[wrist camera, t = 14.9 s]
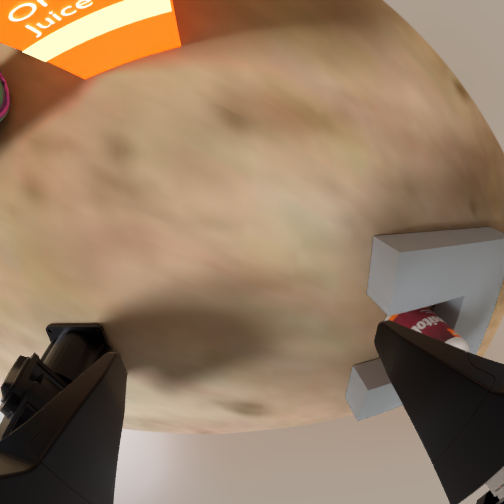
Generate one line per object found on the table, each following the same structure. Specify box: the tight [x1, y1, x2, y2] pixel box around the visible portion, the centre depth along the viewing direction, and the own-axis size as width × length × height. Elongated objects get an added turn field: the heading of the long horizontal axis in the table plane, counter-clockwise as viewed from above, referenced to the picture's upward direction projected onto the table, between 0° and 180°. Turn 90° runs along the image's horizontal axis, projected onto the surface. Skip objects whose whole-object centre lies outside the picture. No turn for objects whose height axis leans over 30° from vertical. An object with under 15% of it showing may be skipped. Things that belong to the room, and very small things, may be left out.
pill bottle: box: [384, 307, 469, 352], centre depth 22 cm, size 6×6×11 cm
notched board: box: [345, 227, 504, 421], centre depth 25 cm, size 18×20×4 cm
